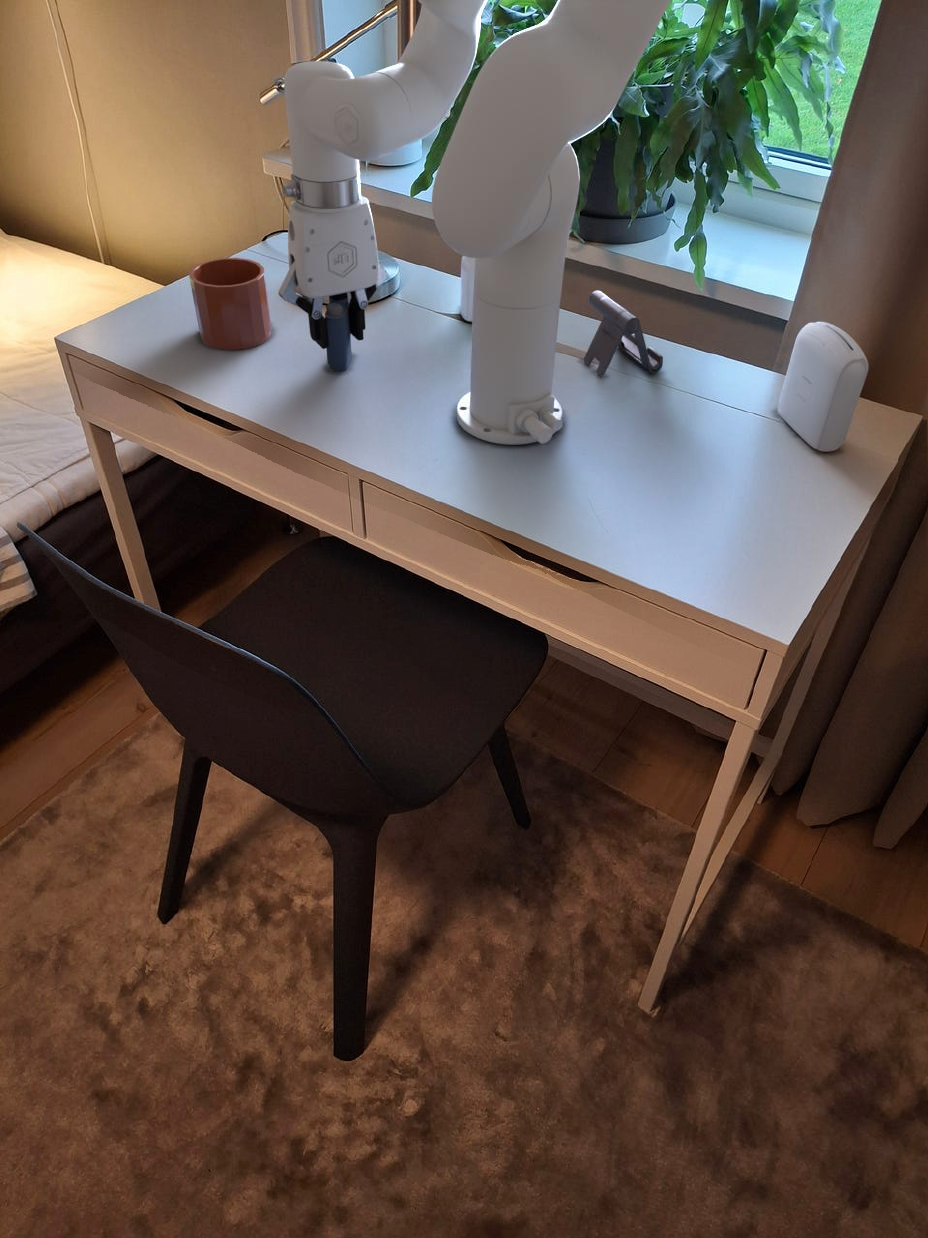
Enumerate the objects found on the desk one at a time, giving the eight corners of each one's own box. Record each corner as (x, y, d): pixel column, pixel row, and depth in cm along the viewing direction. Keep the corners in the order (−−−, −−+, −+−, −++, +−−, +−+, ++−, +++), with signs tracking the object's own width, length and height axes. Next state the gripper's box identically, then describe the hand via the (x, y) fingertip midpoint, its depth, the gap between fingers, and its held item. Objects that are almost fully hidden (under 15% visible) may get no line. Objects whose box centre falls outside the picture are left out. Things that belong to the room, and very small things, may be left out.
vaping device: (354, 354, 121) (348, 263, 113) (346, 373, 118) (340, 280, 109) (334, 352, 122) (327, 261, 113) (326, 371, 118) (318, 278, 110)
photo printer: (770, 410, 113) (797, 313, 105) (801, 406, 114) (830, 310, 105) (813, 455, 106) (846, 355, 97) (847, 451, 106) (882, 351, 98)
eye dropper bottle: (450, 318, 129) (451, 231, 121) (466, 303, 133) (468, 217, 125) (479, 324, 128) (482, 237, 120) (494, 309, 132) (498, 223, 124)
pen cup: (282, 340, 124) (274, 278, 118) (214, 355, 120) (203, 292, 114) (257, 313, 130) (248, 252, 124) (191, 327, 126) (180, 265, 120)
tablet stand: (662, 372, 119) (673, 310, 114) (610, 384, 117) (619, 321, 111) (625, 344, 125) (634, 283, 120) (575, 354, 123) (581, 293, 117)
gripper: (269, 210, 99) (287, 367, 112) (408, 188, 106) (410, 338, 118) (245, 189, 104) (265, 342, 117) (379, 169, 111) (384, 315, 123)
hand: (338, 338), depth 117 cm, fingers closed on vaping device, 4 cm apart
